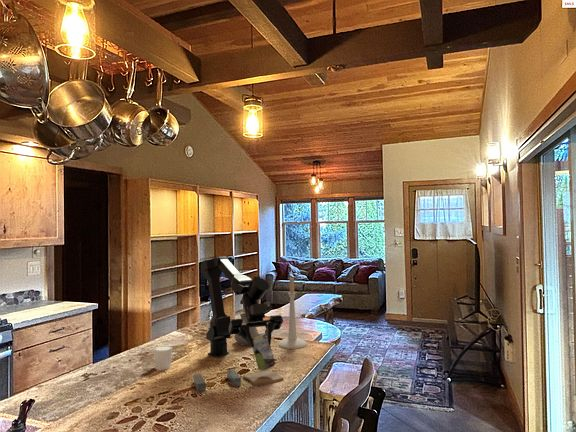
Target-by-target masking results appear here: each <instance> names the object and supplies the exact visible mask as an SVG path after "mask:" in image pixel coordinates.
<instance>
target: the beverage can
mask: <svg viewBox="0 0 576 432" xmlns="http://www.w3.org/2000/svg"><path fill="white" fill-rule="evenodd" d="M252 340H253V345H254V347H253V348H252V351H253V355H254V359H255V361H256V365H257V369H258V370H259V371H266V370H271V369H273V368H274V367H275V365H276V364H277V363H276V360H275V357H274V353H273V350H272V346H271V345H269V340H268V337H267V336H266V335H265V332H263V333H262V332H261V333H259V334H258V335H256V336H253V337H252Z"/></svg>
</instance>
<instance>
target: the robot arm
mask: <svg viewBox="0 0 576 432" xmlns="http://www.w3.org/2000/svg"><path fill="white" fill-rule="evenodd" d="M200 269H201V271H202V275H203V277H204V278H205V279H206V280H207V284H208V292H209V297H210V305H211V311H212V312H211V313H212V316H211V319H210V322H209V328H208V330H207V332H206V334H205V337H206V340H208V341H210V342H209V343H210V344H209V345H210V348H209V349H210V352H207V355H208V356H213V357H218V358H220V357H222V356H225V355H228V354H230V351H228V343H227V342H228V340H227V339H230V338H231V335H232V336H233V335H235V334H238V336H242V337H243V338H244V339H245V340H246V341H247V342H248V344H249V345H248V346H250V348H251V349H253V347H254V345H253V340H252V337H251V334H250V330H249V328H252V327H256V328H261V327H265V330H264V333H265V335H266V336H267V337H268V340H269V345H270V346H271V345H272V344H271V343H272V333H273V332H274V331H276V330H277V331H278V330H280V329H281V327H282V325H283V322H284V319H283V316H282V315H280V314H277V315H276V314H275V315H271V316H270V317H269V319H265V317H266V314H267V312H270V311H272V307H271V302H270V301H264V302H263V303H259V301H260V300H261V299H263V297H264V296H265V294H266V293H267V292H268V290H269V288H270V284H269V281H267V280H266V279H264V278H263V277H262V278H261V276H260V275H255V276H254V277H253V279H252V278H251V277H249V276H248V275H244V274H242V273H241V272H240V271H239V270H238V269H237V268H236V267H235V266H234V264H233V263H232V262H231V261H230V259H229V257H227V256H225V255H224V256H221V255H220V256H216V257H213V258H211V259H210V258H209V259H204V260H203V262H201V264H200ZM222 274H223V275H224V276H225V277H226V278H227V279H228V281H229V282H230V288H231V290H232V292H233V293H234V294H235V295H236V296H239V295H242V296H241V300H239V301H240V302H239V304H240V305H242V306H243V310H244V313H245V317H246V319H247V322H246V321H243V320H242V319H241V318H233V319H232V318H231V316H230V315H227V314H226V313H225V306H224V301H223V293H222V287H221V282H220V279H221V276H222ZM264 319H265V320H264Z"/></svg>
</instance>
